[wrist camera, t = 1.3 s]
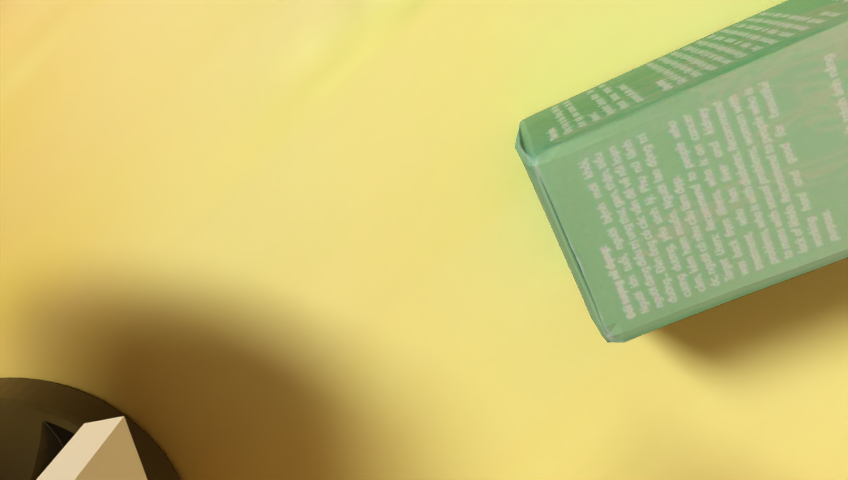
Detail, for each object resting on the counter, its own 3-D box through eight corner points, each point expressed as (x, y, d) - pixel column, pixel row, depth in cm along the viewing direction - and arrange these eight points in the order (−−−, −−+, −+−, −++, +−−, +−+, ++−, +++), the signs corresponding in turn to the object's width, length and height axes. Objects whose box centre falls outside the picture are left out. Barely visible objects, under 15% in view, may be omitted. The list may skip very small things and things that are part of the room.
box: (507, 122, 31) (519, 162, 24) (845, -32, 29) (967, -37, 22) (576, 279, 33) (606, 359, 26) (899, 147, 31) (1027, 196, 24)
